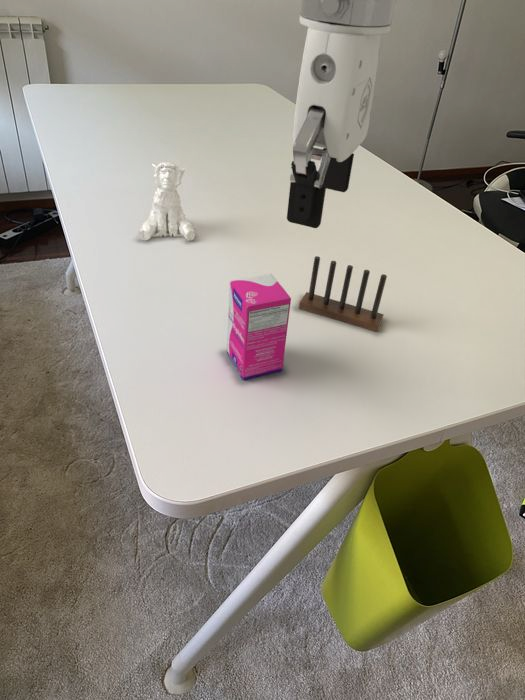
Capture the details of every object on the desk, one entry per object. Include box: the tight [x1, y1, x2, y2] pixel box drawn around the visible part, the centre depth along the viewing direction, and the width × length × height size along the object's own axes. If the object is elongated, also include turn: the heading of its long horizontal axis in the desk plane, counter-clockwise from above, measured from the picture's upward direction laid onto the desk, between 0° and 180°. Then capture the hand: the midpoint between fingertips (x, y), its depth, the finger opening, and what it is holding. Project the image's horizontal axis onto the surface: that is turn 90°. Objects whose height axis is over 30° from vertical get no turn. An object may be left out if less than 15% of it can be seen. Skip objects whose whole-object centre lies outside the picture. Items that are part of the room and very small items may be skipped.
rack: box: [298, 255, 388, 333], centre depth 79 cm, size 12×3×8 cm, turn 68°
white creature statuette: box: [138, 161, 196, 242], centre depth 94 cm, size 10×9×12 cm
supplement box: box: [226, 273, 292, 381], centre depth 68 cm, size 6×6×12 cm
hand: (318, 205), depth 55 cm, fingers open, 9 cm apart
